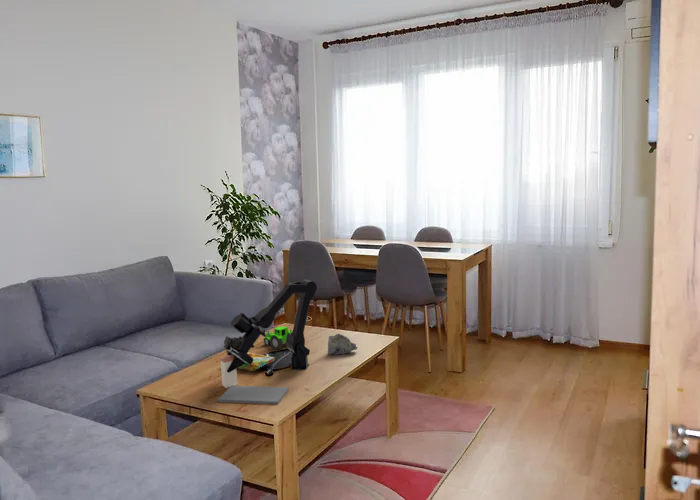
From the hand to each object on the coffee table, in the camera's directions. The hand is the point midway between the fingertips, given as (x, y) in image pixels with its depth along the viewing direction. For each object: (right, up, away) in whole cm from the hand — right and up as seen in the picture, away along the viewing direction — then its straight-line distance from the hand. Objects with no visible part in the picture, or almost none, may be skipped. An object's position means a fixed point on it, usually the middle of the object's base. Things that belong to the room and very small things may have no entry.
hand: (225, 370), depth 227 cm
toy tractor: (+15, +1, +53) cm, 55 cm away
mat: (+14, -8, -11) cm, 19 cm away
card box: (+1, -6, +2) cm, 7 cm away
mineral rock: (+47, 0, +36) cm, 59 cm away
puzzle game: (+6, -4, +24) cm, 25 cm away
